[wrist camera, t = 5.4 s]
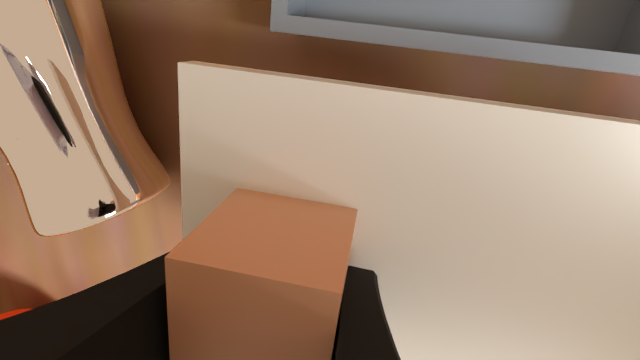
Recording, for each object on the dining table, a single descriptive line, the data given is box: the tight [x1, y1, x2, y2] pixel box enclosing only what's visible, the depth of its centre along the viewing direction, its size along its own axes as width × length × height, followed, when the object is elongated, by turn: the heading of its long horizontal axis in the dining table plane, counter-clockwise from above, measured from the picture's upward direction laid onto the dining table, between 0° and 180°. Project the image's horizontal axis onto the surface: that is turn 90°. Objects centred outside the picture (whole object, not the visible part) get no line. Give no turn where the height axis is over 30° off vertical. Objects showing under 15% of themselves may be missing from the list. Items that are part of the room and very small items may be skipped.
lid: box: [165, 61, 640, 360], centre depth 8 cm, size 13×10×4 cm
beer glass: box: [0, 0, 170, 237], centre depth 15 cm, size 7×7×15 cm
